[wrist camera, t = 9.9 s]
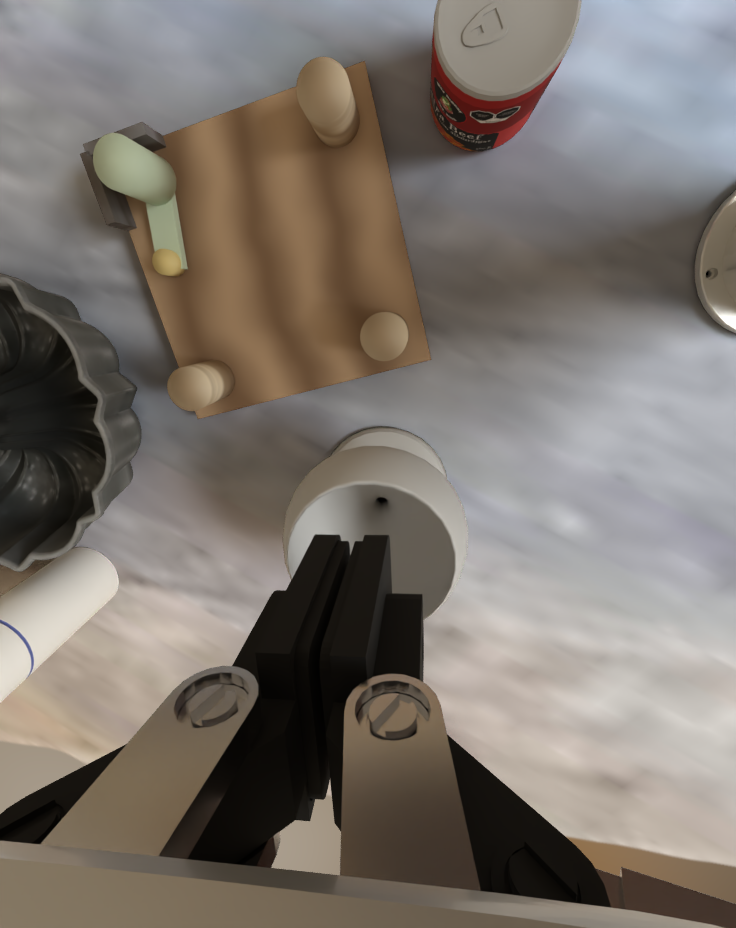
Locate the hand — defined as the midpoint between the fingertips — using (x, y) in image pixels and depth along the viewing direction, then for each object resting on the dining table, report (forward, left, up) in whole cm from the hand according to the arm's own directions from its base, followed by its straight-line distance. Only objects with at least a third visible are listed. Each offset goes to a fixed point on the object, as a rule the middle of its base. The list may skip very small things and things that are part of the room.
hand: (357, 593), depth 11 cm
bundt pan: (+35, -6, -35) cm, 50 cm away
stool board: (+8, -12, -35) cm, 38 cm away
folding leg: (+16, -18, -32) cm, 40 cm away
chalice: (+4, +10, -35) cm, 36 cm away
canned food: (-11, -19, -35) cm, 41 cm away
